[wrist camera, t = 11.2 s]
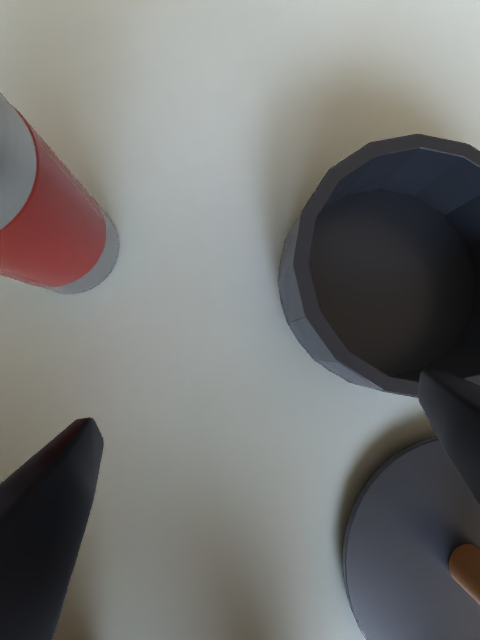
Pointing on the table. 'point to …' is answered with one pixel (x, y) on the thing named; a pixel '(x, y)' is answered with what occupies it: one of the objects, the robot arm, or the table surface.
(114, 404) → the table surface
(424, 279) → the pot
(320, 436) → the table surface
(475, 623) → the lid
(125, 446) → the table surface
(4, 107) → the cylinder
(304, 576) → the table surface
